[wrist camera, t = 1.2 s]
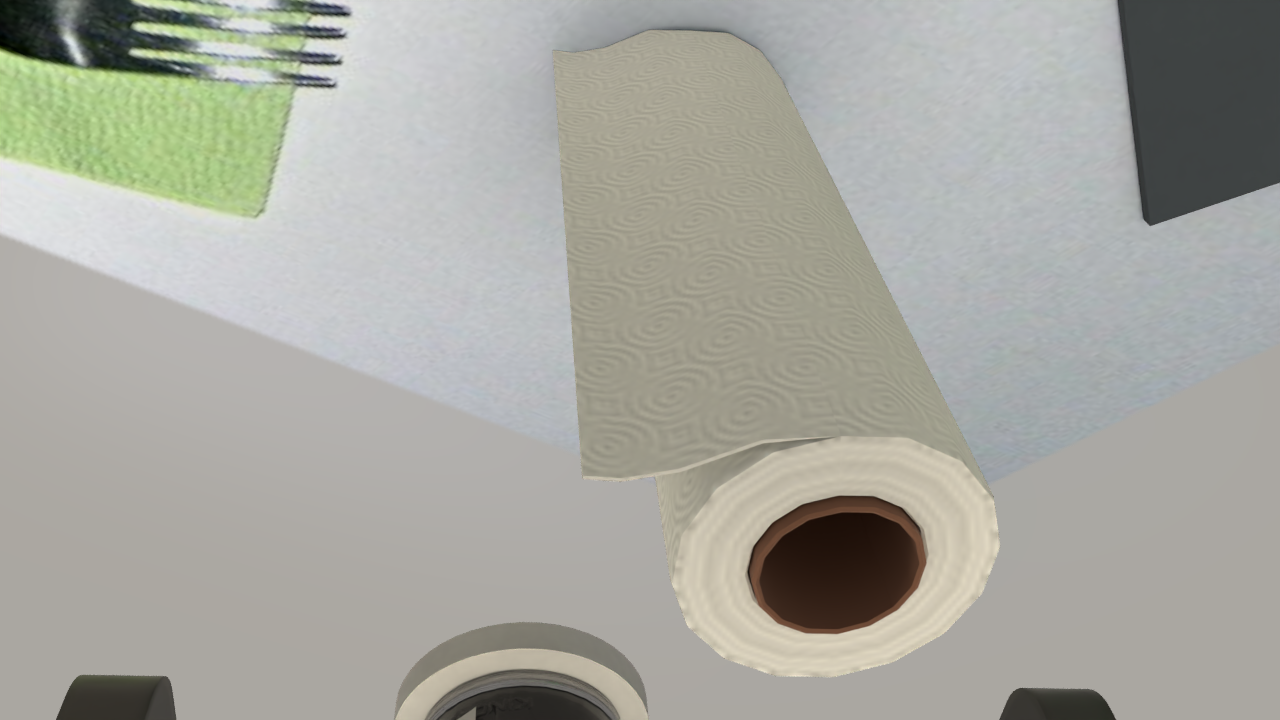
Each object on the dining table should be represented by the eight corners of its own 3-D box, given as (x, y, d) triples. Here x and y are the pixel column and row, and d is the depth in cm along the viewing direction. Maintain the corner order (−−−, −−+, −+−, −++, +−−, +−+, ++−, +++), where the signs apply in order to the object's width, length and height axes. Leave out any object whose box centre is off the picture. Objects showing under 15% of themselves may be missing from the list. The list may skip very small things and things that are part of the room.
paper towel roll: (812, 149, 40) (1045, 614, 22) (652, 227, 41) (753, 728, 23) (725, -44, 36) (923, 333, 18) (551, 48, 37) (580, 485, 20)
